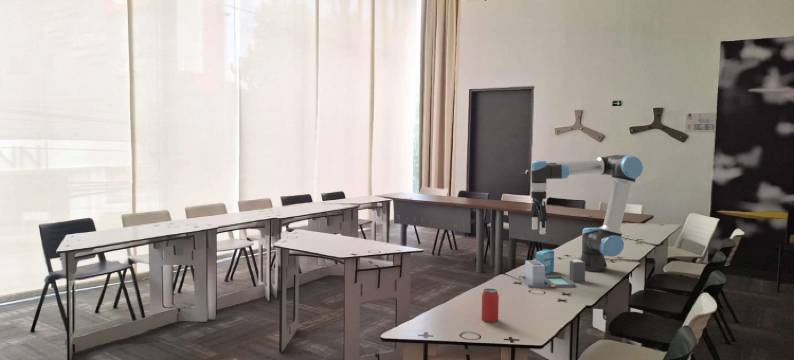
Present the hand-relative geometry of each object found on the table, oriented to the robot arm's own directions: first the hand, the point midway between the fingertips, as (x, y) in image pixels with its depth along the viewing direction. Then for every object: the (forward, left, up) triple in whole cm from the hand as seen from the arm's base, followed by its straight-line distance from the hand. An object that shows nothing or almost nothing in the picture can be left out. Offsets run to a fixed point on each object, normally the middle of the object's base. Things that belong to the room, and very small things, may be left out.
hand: (538, 231), depth 273 cm
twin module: (+5, +10, -24) cm, 27 cm away
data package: (-7, -10, -25) cm, 27 cm away
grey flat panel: (-1, +10, -24) cm, 26 cm away
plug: (-18, +7, -24) cm, 31 cm away
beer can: (+40, +62, -25) cm, 78 cm away
